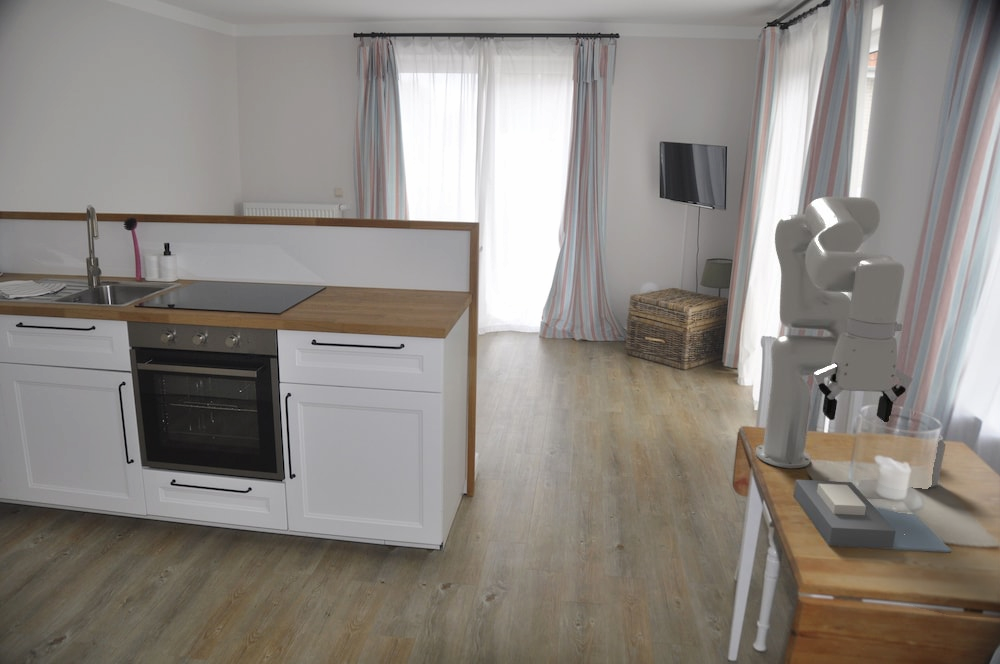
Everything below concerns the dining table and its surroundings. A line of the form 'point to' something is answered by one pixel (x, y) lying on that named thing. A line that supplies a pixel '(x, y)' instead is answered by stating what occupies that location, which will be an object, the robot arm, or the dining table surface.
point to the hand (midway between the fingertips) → (855, 418)
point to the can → (938, 461)
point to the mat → (912, 533)
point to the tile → (841, 499)
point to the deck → (844, 519)
